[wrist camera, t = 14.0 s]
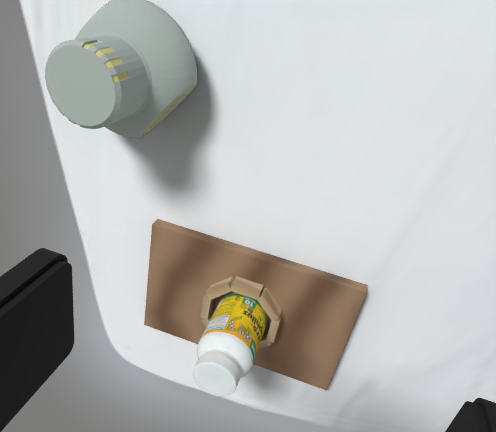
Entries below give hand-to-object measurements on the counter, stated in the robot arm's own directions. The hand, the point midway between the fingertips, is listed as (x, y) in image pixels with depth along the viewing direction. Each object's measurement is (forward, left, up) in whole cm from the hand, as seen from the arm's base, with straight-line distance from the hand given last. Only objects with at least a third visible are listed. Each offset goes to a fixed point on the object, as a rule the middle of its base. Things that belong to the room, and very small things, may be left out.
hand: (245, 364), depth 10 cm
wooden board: (+4, +23, -28) cm, 37 cm away
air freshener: (+17, +1, -29) cm, 33 cm away
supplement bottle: (+4, +23, -27) cm, 36 cm away
